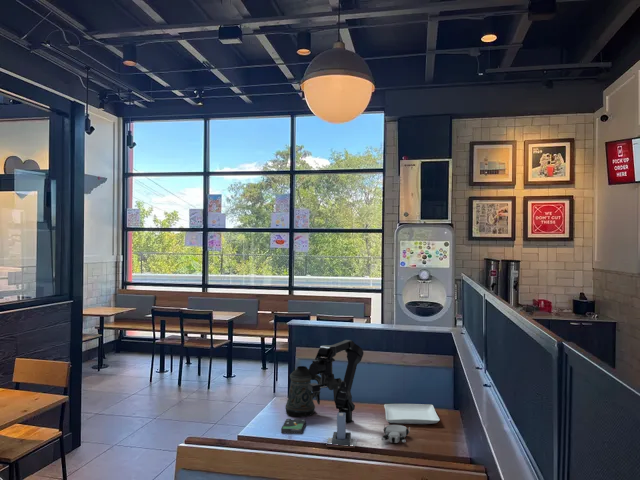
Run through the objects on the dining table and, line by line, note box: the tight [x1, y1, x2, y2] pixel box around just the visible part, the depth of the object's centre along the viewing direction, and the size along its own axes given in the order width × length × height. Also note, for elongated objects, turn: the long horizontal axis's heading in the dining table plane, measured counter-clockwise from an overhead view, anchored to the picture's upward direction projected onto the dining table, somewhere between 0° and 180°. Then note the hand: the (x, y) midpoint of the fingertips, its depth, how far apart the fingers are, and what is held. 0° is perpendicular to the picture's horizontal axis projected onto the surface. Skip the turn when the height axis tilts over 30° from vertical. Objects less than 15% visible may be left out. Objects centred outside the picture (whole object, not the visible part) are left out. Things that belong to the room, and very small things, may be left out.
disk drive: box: [280, 418, 307, 435], centre depth 235 cm, size 10×3×15 cm
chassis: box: [326, 431, 357, 446], centre depth 214 cm, size 10×13×4 cm
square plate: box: [383, 403, 440, 425], centre depth 250 cm, size 27×27×4 cm
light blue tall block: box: [336, 411, 347, 439], centre depth 214 cm, size 6×4×13 cm, turn 174°
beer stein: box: [284, 365, 322, 418], centre depth 261 cm, size 16×19×25 cm
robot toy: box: [380, 424, 411, 444], centre depth 219 cm, size 12×4×15 cm
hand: (327, 403), depth 233 cm, fingers open, 9 cm apart
